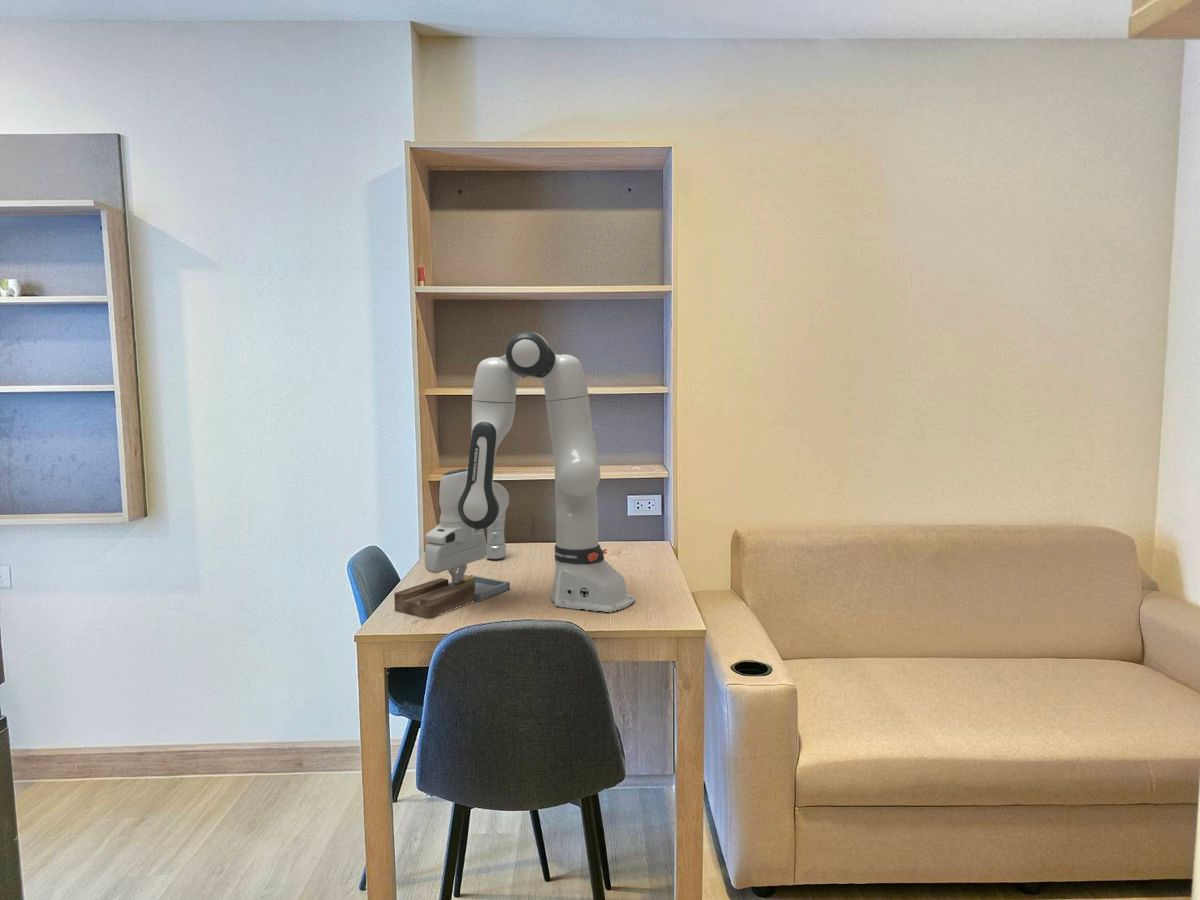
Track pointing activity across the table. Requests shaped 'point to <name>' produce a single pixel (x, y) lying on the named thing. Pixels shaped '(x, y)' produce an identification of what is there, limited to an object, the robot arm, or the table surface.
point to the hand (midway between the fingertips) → (457, 581)
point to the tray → (487, 587)
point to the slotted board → (433, 598)
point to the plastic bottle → (496, 539)
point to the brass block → (467, 581)
